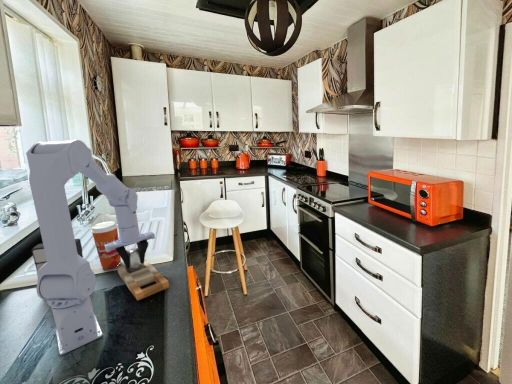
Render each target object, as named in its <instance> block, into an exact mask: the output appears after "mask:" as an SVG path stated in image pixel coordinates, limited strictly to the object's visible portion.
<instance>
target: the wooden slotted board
mask: <svg viewBox="0 0 512 384" xmlns="http://www.w3.org/2000/svg"><path fill="white" fill-rule="evenodd" d="M116 269H117V274H118V276H119V277H120V278H121V280H122V281H123V282H124V284H125V285H126V288H128V290H129V291H130V292H131V294H132V295H133V297H134V298H135V299H136V301H137V302H138V301H140V300H142V299H145V298H147V297H150V296H152V295H155V294H157V293H158V292H161V291H164V290H166V289H169V288H170V284H169V283H170V282H169V279H167V278H166V277H165V276H163V274H162V273H160V271H158V270H157V268H155V267H154V266H153V265H152V264H151V262H149V261H148V260H147V259H146V258H145V259H144V264H142V269H141V270H139V271H136V272H133V273H130V274H129V269H127V268H126V267H125V265H124V266H121V267H119V268H117V267H116ZM154 282H155V283H154ZM151 283H154V284H152V285H149V286H147V287H144V288H141V287H143V286H145V285H148V284H151Z"/></svg>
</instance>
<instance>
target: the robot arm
mask: <svg viewBox="0 0 512 384" xmlns="http://www.w3.org/2000/svg"><path fill="white" fill-rule="evenodd" d="M26 158H27V159H26V160H27V163H28V168H29V175H28V176H29V177H28V181H29V186H30V192H31V195H32V200H33V204H34V209H35V214H36V217H37V222H38V227H39V230H40V235H41V241H42V244H43V245H44V250H45V254H46V259H47V262H46V263H45V264H44V265H43V266H42V267H41V268H40V269H39V270H38V271H37V270H36V276H37V283H36V294H37V296H38V297H39V299H42V300H45V301H46V304H47V305H48V306H50V307H51V308H50V309H51V312H52V315H53V320H54V324H55V327H56V330H55V333H56V334H55V335H56V341H57V346H58V353H59V355H60V356H62V355H65V354H67V353H68V352H69V353H70V352H71V351H73V350H75V349H77V348H80V347H82V346H84V345H86V344H88V343H91V342H92V341H95V340H97V339H99V338H101V337H102V336H103V331H102V329H101V327H100V324H99V322H98V320H97V316H96V315H95V313H94V307H93V303H92V298H91V294H93V292H94V290H95V288H96V284H97V278H96V274H95V272H94V270H92V268H91V264H90V261H88V260H87V259H86V258H84V256H83V257H81V256H80V255H78V253H77V248H76V243H75V239H76V238H75V233H74V228H73V224H72V219H71V213H70V208H69V204H68V203H69V202H68V198H67V193H66V189H65V185H66V184H67V183H68V181H69V180H71V179H73V178H74V177H75V176H77V175H78V174H79V173H80V174H81V175H83V176H84V177H86V178H87V179H89V180H91V181H92V182H94V183H95V188H96V190H97V191H98V192H99V193H100V194H102V195H103V196H105V197H106V199H107V201H108V204H109V206H110V207H113V208H114V211H115V212H114V213H115V217H116V222H117V223H116V224H117V225H118V228H117V231H118V236H119V238H118V240H117V241H114V242H112V243H109V244H106V245H105V250H106V252H110V251H111V250H116V251H117V252H118V254H119V255H120V258H121V260H122V261H123V265H124V266H125V267H126V268H127V269H129V263H128V258H127V249H126V247H128V246H132V245H134V244H136V246H137V247H136V248H139V251H140V257H141V263H142V264H144V259H146V258H145V257H146V252H147V249H148V247H149V241H148V240H154V239H156V236H155V235H156V234H155V232H154V231H150V232H143V233H141V232H140V227H139V222H138V216H137V215H138V214H137V210H138V199H139V198H138V193H137V192H136V190H135V189H133V188H132V187H127V186H126V185H125V184H124V183H123V182H122V181H120V179H119V178H117V176H116V175H115V173H106V172H105V171H104V170H103V169H102V168H101V166H100V165H99V164H98V163H97V162H96V161H95V160H94V158H93V154H92V149H91V148H90V147H88V145H86V143H85V142H84V141H82V140H80V139H73V140H63V141H61V140H60V141H38V142H35V143H34V144H33V145H32V146H31V147H30V148H29V149H28V150H27V151H26Z"/></svg>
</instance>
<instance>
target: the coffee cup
mask: <svg viewBox="0 0 512 384" xmlns="http://www.w3.org/2000/svg"><path fill="white" fill-rule="evenodd" d="M90 233H92V237H93V242H94V244H95V247H96V251H97V255H98V258H99V262H100V266H101V268H102V267H103V268H104V269H103V268H102V269H103V270H110V269H114V268H117V267H118V266H117V265H118V264H119V263H120V262H121V260H122V258H121V257H120V255H119V254H118V252H117V251H116V250H111V251H110V252H106V250H105V245H106V244H109V243H112V242H114V241H117V240H119V230H118V224H117V223H116V221H110V220H109V221H103V222H98V223H96V224H94V225H93V226H92V227H91V230H90ZM121 263H122V262H121ZM116 266H117V267H116Z"/></svg>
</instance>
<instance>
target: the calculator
mask: <svg viewBox="0 0 512 384" xmlns="http://www.w3.org/2000/svg"><path fill="white" fill-rule="evenodd" d="M75 243H76V248H77V253H78V255H80V256H81V257H83V258H84V255H83V246H82V242H81V238H75ZM31 254H32V258H33V261H34V265H35V268H36V272H37V271H38V270H39V269H40V268H41V267H42V266H43V265H44V264H45V263H46V262H47V259H46V254H45V250H44V245H43V243H38V244H37V245H35V246H34V247H33V248H31Z"/></svg>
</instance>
